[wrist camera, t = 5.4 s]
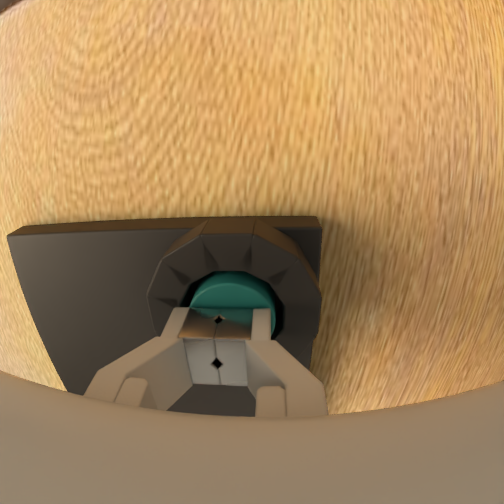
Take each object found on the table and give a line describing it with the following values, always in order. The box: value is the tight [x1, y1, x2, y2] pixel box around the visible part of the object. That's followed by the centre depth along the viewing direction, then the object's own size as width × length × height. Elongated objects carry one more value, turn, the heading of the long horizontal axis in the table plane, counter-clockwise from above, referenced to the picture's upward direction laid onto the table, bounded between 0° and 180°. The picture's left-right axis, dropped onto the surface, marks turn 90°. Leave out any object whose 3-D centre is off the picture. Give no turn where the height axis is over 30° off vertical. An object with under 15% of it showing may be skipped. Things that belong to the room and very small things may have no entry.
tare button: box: [189, 271, 276, 335], centre depth 10 cm, size 3×3×2 cm
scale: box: [7, 216, 322, 417], centre depth 13 cm, size 14×12×3 cm
